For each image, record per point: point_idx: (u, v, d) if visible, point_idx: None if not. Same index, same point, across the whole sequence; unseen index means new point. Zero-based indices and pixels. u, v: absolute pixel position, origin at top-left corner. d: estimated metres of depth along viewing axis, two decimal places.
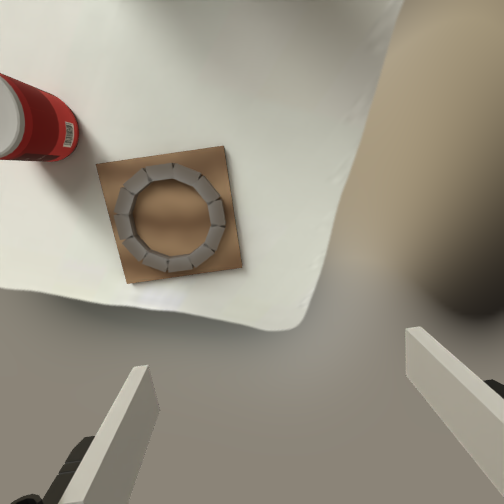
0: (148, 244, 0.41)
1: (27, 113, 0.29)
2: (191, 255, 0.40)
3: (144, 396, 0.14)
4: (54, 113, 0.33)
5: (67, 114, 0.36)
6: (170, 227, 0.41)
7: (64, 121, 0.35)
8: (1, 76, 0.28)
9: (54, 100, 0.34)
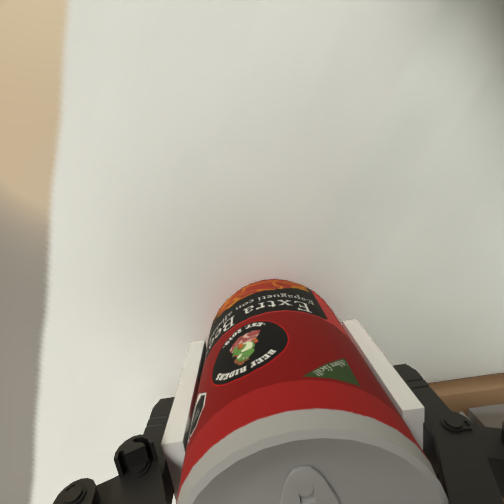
0: None
1: None
2: None
3: None
4: None
5: None
6: None
7: None
8: (399, 429, 0.08)
9: (339, 323, 0.15)
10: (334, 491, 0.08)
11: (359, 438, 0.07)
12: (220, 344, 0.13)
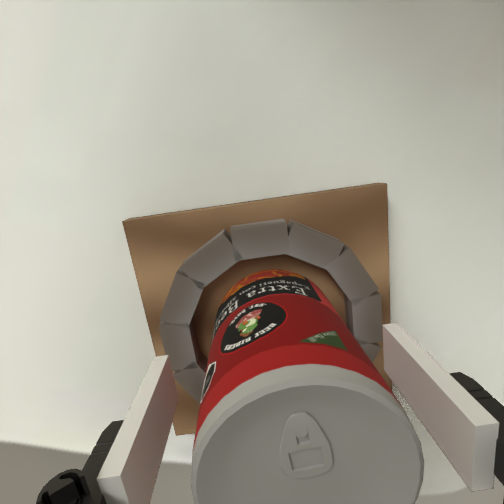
0: None
1: None
2: None
3: (165, 384, 0.15)
4: None
5: None
6: None
7: None
8: (379, 382, 0.10)
9: (332, 306, 0.17)
10: (325, 434, 0.10)
11: (344, 385, 0.09)
12: (227, 323, 0.14)
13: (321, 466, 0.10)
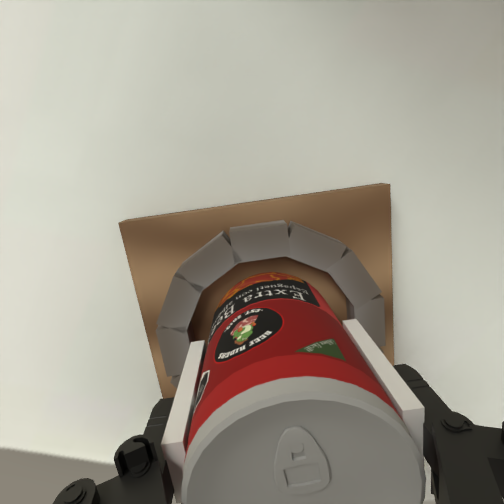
0: None
1: None
2: None
3: None
4: None
5: None
6: None
7: None
8: (378, 395, 0.09)
9: (331, 311, 0.16)
10: (321, 449, 0.09)
11: (341, 399, 0.08)
12: (222, 329, 0.14)
13: (318, 482, 0.10)
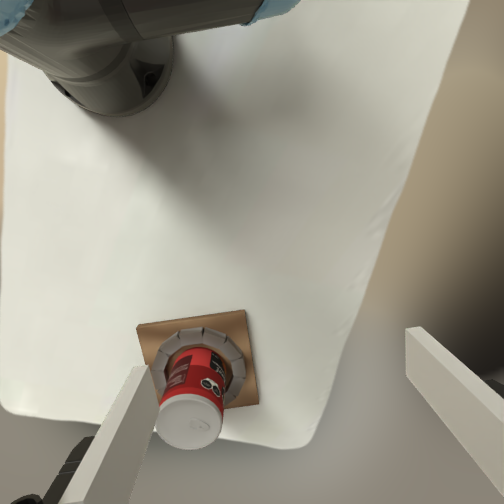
0: None
1: None
2: None
3: (144, 396, 0.14)
4: None
5: None
6: None
7: None
8: None
9: None
10: (199, 431, 0.37)
11: (213, 441, 0.37)
12: (223, 384, 0.42)
13: (190, 427, 0.37)
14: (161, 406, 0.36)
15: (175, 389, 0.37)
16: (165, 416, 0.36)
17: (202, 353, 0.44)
